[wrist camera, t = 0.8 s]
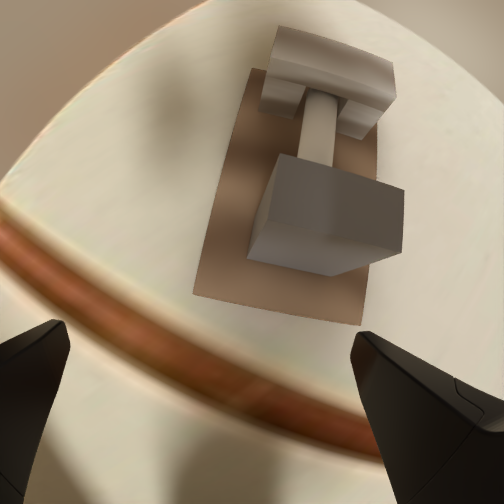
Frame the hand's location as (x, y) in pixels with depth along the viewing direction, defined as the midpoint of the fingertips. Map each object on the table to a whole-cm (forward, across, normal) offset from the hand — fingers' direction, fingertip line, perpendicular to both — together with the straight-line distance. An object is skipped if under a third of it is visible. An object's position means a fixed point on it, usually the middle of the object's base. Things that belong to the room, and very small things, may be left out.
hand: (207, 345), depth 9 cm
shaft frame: (+17, -6, -3) cm, 18 cm away
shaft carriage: (+15, -6, -3) cm, 17 cm away
